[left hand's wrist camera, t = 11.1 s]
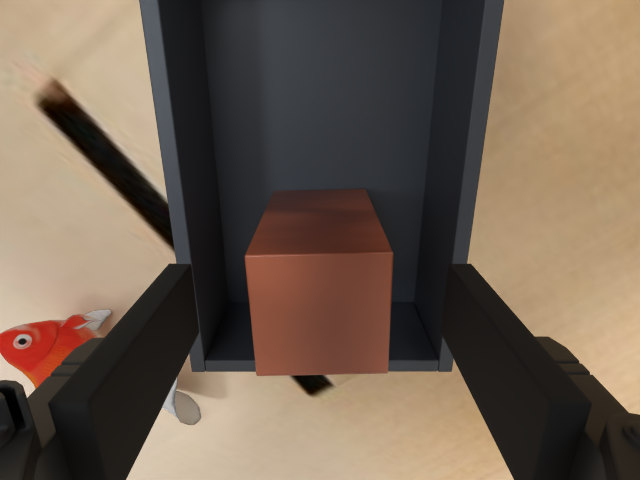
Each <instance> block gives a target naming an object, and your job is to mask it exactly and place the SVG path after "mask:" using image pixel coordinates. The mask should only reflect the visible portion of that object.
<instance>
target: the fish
mask: <svg viewBox="0 0 640 480" xmlns="http://www.w3.org/2000/svg"><path fill="white" fill-rule="evenodd" d="M110 314H111V311H110V310H108V309H104V310H96V311H92V312H89V313H87V314H85V315H73V316H71V317H70V318H68V319H67V320H48V321H42V322H36V323H29V324H23V325H20V326H16V327H13V328H11V329H8V330H6V331H4V332H3V333H1V334H0V353H1V355H2V356H3V357H4V359H5V360H6V361H7V362H8V363H10V364H11V365H13V366H14V367H15V368H17V369H19V370H20V371H22V372H23V373H24V374H25V375H26V376H27V377H28V378H29V379H30V380H31V381H32V383H33V384H34V386H35V388H37V387H38V386H39V385H40V384H41V383H42V382H43V381H44V380H45V379H46V378H47V377H48V376H51V373H52V372H53V371H54V369H55V368H56V367H57V366H58V365H61V362H62V361H63V360H64V359H65V358H66V357H67V356H68V355H69V354H70V353H71V352H72V351H73V350H74V349H75V348H77V347H78V346H80V345H81V344H83V343H85V342H86V341H88V340H89V339H91V338H97V336H96V335H95V333H94V332H93V331H94V330H97V329H99V328H100V327H101V325H102V324H103V322H104V321H105V320H106V318H107V317H108V316H109V315H110ZM176 387H177V378H176V380H175V382H174V384H173V386H172V388H171V390H170V392H169V394H168V396H167V398H166V400H165V402H164V404H163V406H162V408H164V409H165V410H167V411H168V412H170V413H172V414H173V415H174V416H175V417H177V418H178V420H179V421H180V422H182V423H184V424H187V425H195V424H196V423H197V422H198V421H199V420H200V419H201V413H200V409H199V406H198V405H197V404H196V402H195V401H194V400H193V399H192V398H191V397H190V396H189V395H187V394H184V393H181V392H179V391H176Z"/></svg>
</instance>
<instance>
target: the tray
mask: <svg viewBox="0 0 640 480" xmlns="http://www.w3.org/2000/svg"><path fill="white" fill-rule="evenodd" d="M139 2H140V9H141V16H142V23H143V30H144V37H145V44H146V51H147V58H148V65H149V72H150V79H151V86H152V93H153V100H154V107H155V114H156V121H157V128H158V135H159V142H160V149H161V157H162V164H163V171H164V178H165V185H166V192H167V199H168V206H169V213H170V220H171V227H172V234H173V241H174V248H175V255H176V262H177V264H191V266H192V274H193V283H194V291H195V299H196V307H197V316H198V324H199V334H198V336H197V338H196V340H195V342H194V344H193V346H192V348H191V350H190V352H189V354H190V361H191V368H192V372H205V371H207V372H255V371H256V365H255V356H254V346H253V336H252V326H251V316H250V306H249V296H248V286H247V276H246V266H245V254H246V252H247V250H248V248H249V245H250V243H251V241H252V239H253V236H254V234H255V232H256V229H257V227H258V225H259V223H260V220H261V218H262V216H263V214H264V211H265V209H266V207H267V205H268V202H269V200H270V198H271V196H272V193H273V191H287V190H328V189H366V191H367V194H368V196H369V198H370V200H371V203H372V205H373V207H374V210H375V212H376V214H377V217H378V219H379V221H380V224H381V226H382V228H383V230H384V233H385V235H386V237H387V240H388V242H389V244H390V247H391V249H392V251H393V273H392V296H391V319H390V341H389V364H388V371H439V372H451V371H452V365H453V356H452V354H451V352H450V350H449V348H448V346H447V344H446V342H445V340H444V338H443V336H442V334H441V324H442V316H443V307H444V299H445V291H446V283H447V274H448V266H449V264H467V259H468V252H469V245H470V238H471V231H472V224H473V217H474V210H475V203H476V196H477V189H478V181H479V174H480V167H481V160H482V153H483V146H484V139H485V132H486V125H487V118H488V111H489V104H490V97H491V89H492V82H493V75H494V68H495V61H496V54H497V47H498V40H499V33H500V26H501V19H502V12H503V5H504V0H139Z"/></svg>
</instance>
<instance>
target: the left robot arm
mask: <svg viewBox="0 0 640 480" xmlns="http://www.w3.org/2000/svg"><path fill="white" fill-rule="evenodd" d="M198 334H199V324H198V316H197V307H196V299H195V291H194V283H193V274H192V266H191V264H169V265H168V266H167V267H166V268H165V269H164V270H163V271H162V273H161V274H160V275H159V276H158V277H157V278H156V279H155V281H154V282H153V283H152V284H151V285H150V286H149V288H148V289H147V290H146V291H145V292H144V293H143V294H142V296H141V297H140V298H139V299H138V300H137V301H136V302H135V304H134V305H133V306H132V307H131V308H130V309H129V310H128V312H127V313H126V314H125V315H124V316H123V317H122V319H121V320H120V321H119V322H118V323H117V324H116V325H115V327H114V328H113V329H112V330H111V331H110V332H109V333H108V335H107V336H106V337H105V338H91V339H89V340H88V341H86V342H85V343H83V344H81V345H80V346H78V347H77V348H75V349H74V350H73V351H72V352H71V353H70V354H69V355H68V356H67V357H66V358H65V359H64V360H63V361H62V362H61V365H58V366H57V367H56V368H55V369H54V371H53V372H52V373H51V376H48V377H47V378H46V379H45V380H44V381H43V382H42V383H41V384H40V385H39V386H38V387H37V388H36V389H35V390H34V392H33V393H32V394H31V395H30V396H29V397H28V398H27V397H26V394H25V391H24V388H23V386H22V385H21V384H19V383H18V382H16V381H9V380H2V381H0V480H126V478H127V476H128V474H129V472H130V470H131V468H132V466H133V464H134V462H135V460H136V458H137V456H138V454H139V452H140V450H141V448H142V446H143V444H144V442H145V440H146V438H147V436H148V434H149V432H150V430H151V428H152V426H153V424H154V422H155V420H156V418H157V416H158V414H159V412H160V410H161V408H162V406H163V404H164V402H165V400H166V398H167V396H168V394H169V392H170V390H171V388H172V386H173V384H174V382H175V380H176V378H177V376H178V374H179V372H180V370H181V368H182V366H183V364H184V362H185V360H186V358H187V356H188V354H189V352H190V350H191V348H192V346H193V344H194V342H195V340H196V338H197V336H198ZM441 334H442V336H443V338H444V340H445V342H446V344H447V346H448V348H449V350H450V352H451V354H452V356H453V358H454V360H455V362H456V364H457V366H458V368H459V370H460V372H461V374H462V376H463V378H464V380H465V382H466V384H467V386H468V388H469V390H470V392H471V394H472V396H473V398H474V400H475V402H476V404H477V406H478V408H479V410H480V412H481V414H482V416H483V418H484V420H485V422H486V424H487V426H488V428H489V430H490V432H491V434H492V436H493V438H494V440H495V442H496V444H497V446H498V448H499V450H500V452H501V454H502V456H503V458H504V460H505V462H506V464H507V466H508V468H509V470H510V472H511V474H512V476H513V478H514V480H640V415H638V414H632V413H628V411H627V410H626V409H625V408H624V407H623V406H622V405H621V404H620V403H619V402H618V401H617V400H616V399H615V398H614V397H613V396H612V395H611V394H610V393H609V392H608V391H607V390H606V389H605V387H604V386H603V385H602V384H601V383H600V382H599V381H598V380H597V379H596V378H595V377H594V376H593V375H590V372H589V371H588V370H587V369H586V368H585V367H584V366H583V365H582V364H580V363H579V360H578V359H577V358H576V357H575V356H574V355H573V354H572V353H571V352H570V351H569V350H568V349H567V348H566V347H564V346H563V345H561V344H559V343H558V342H556V341H555V340H553V339H551V338H550V337H534V336H533V335H532V333H531V332H530V331H529V330H528V329H527V328H526V327H525V325H524V324H523V323H522V322H521V321H520V320H519V319H518V317H517V316H516V315H515V314H514V313H513V312H512V310H511V309H510V308H509V307H508V306H507V305H506V304H505V302H504V301H503V300H502V299H501V298H500V297H499V296H498V294H497V293H496V292H495V291H494V290H493V289H492V288H491V286H490V285H489V284H488V283H487V282H486V281H485V279H484V278H483V277H482V276H481V275H480V274H479V273H478V271H477V270H476V269H475V268H474V267H473V266H472V265H471V264H449V266H448V274H447V283H446V291H445V299H444V307H443V316H442V324H441Z"/></svg>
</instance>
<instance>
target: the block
mask: <svg viewBox="0 0 640 480" xmlns="http://www.w3.org/2000/svg"><path fill="white" fill-rule="evenodd" d="M245 266H246V276H247V286H248V296H249V306H250V316H251V326H252V336H253V346H254V356H255V365H256V374H257V376H278V375H330V374H381V373H388V364H389V341H390V319H391V296H392V273H393V251H392V249H391V247H390V244H389V242H388V240H387V237H386V235H385V233H384V230H383V228H382V226H381V224H380V221H379V219H378V217H377V214H376V212H375V210H374V207H373V205H372V203H371V200H370V198H369V196H368V194H367V191H366V189H328V190H287V191H273V193H272V196H271V198H270V200H269V202H268V205H267V207H266V209H265V211H264V214H263V216H262V218H261V220H260V223H259V225H258V227H257V229H256V232H255V234H254V236H253V239H252V241H251V243H250V245H249V248H248V250H247V252H246V254H245Z"/></svg>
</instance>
